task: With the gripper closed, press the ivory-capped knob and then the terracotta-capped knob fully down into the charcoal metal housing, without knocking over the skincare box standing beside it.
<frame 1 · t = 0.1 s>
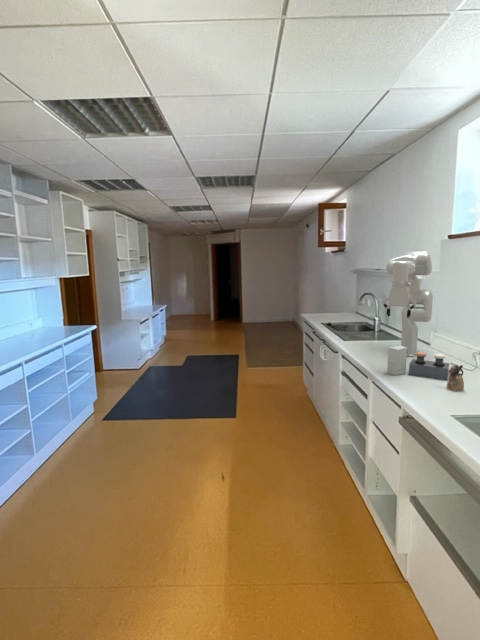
hand: (398, 316, 194), 31 cm above the countertop, tool pointing down, fingers open, 9 cm apart
figurine: (454, 389, 173), on the countertop
skincare box: (396, 373, 198), on the countertop
knob 2: (439, 361, 191), point 8 cm above the countertop, slide at 0.0 cm
housing: (428, 374, 195), on the countertop
knob 1: (420, 359, 196), point 8 cm above the countertop, slide at 0.0 cm
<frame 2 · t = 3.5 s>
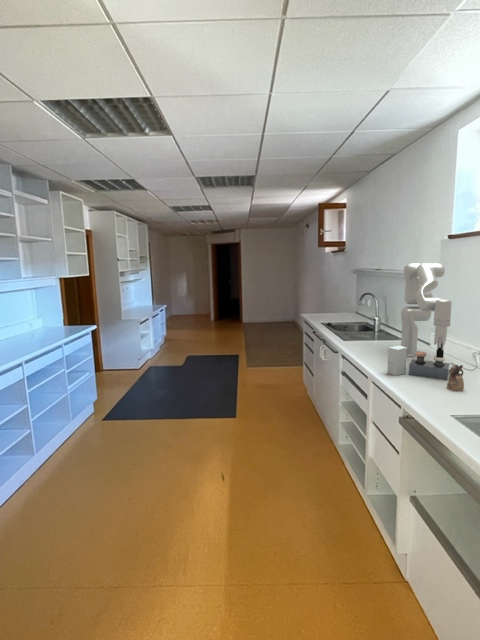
hand: (439, 357, 191), 10 cm above the countertop, tool pointing down, fingers closed
knob 2: (439, 364, 191), point 6 cm above the countertop, slide at 1.4 cm, touching gripper
everything else where it was.
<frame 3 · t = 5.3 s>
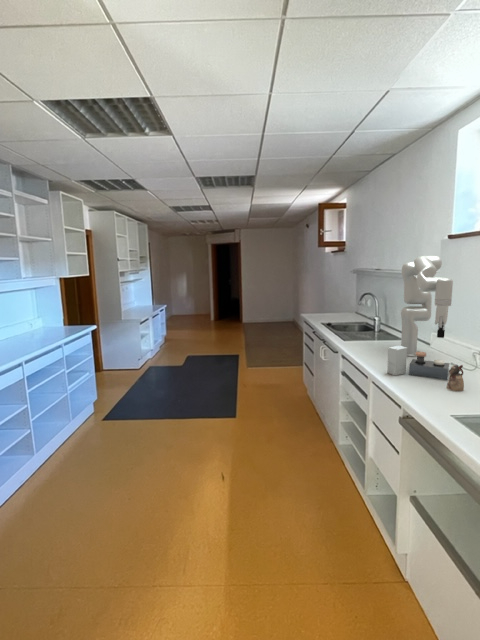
hand: (440, 337, 189), 21 cm above the countertop, tool pointing down, fingers closed
knob 2: (438, 367, 192), point 4 cm above the countertop, slide at 3.5 cm
everything else where it was.
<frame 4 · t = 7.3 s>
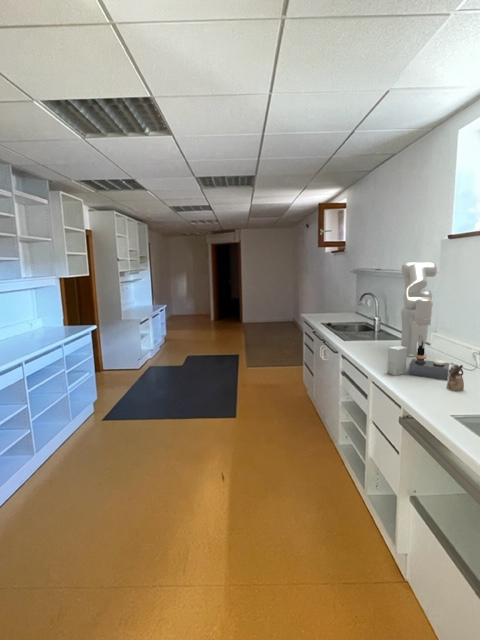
hand: (420, 355, 195), 10 cm above the countertop, tool pointing down, fingers closed
knob 1: (420, 361, 196), point 6 cm above the countertop, slide at 1.4 cm, touching gripper
everything else where it was.
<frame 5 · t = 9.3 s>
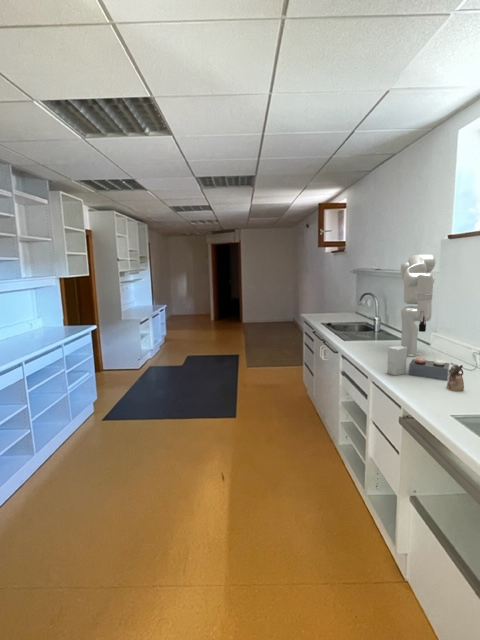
hand: (422, 331, 194), 23 cm above the countertop, tool pointing down, fingers closed
knob 1: (420, 365, 197), point 4 cm above the countertop, slide at 3.5 cm
everything else where it was.
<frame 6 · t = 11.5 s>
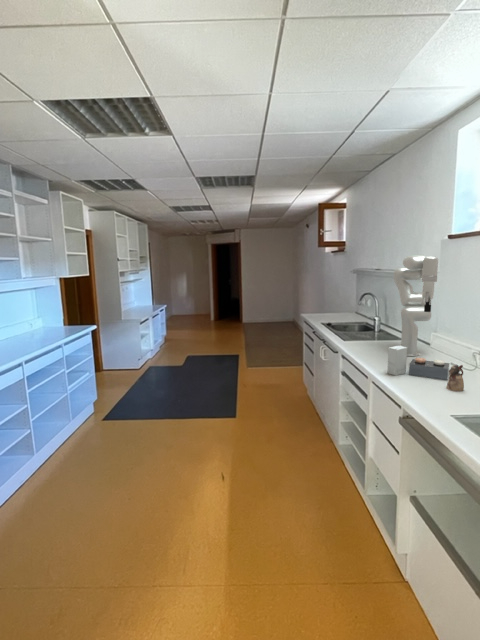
hand: (427, 311, 204), 32 cm above the countertop, tool pointing down, fingers closed
nothing on the countertop moved.
at the end: knob 2 slide at 3.5 cm; knob 1 slide at 3.5 cm; skincare box tilted 0° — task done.
